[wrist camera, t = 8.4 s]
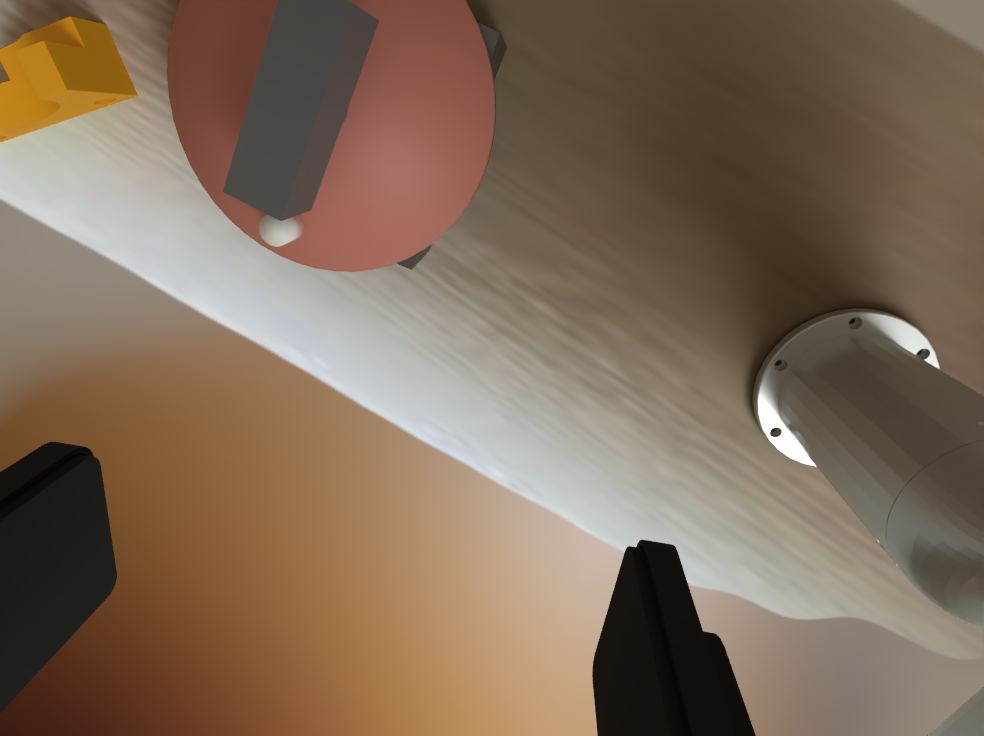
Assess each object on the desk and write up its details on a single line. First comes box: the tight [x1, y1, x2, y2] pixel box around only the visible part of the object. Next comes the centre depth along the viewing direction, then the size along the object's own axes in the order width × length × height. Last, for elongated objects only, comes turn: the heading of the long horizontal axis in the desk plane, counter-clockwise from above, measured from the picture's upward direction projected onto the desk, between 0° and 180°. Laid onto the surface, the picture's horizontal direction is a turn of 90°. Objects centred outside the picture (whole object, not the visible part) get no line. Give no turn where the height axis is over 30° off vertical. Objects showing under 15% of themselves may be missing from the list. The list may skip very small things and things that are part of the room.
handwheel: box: [167, 0, 496, 272], centre depth 29 cm, size 18×18×7 cm
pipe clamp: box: [0, 16, 138, 142], centre depth 37 cm, size 12×4×6 cm, turn 105°
